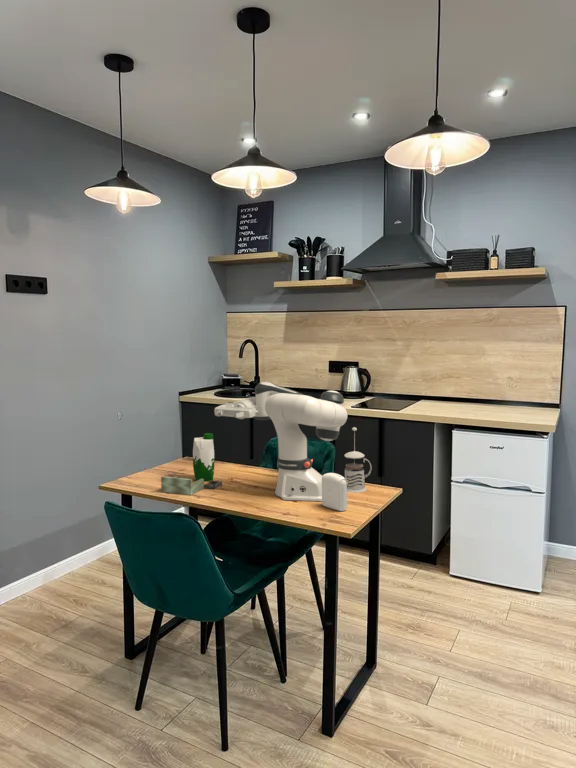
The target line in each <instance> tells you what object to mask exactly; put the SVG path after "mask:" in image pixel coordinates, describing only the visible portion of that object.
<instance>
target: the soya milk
mask: <svg viewBox="0 0 576 768" xmlns="http://www.w3.org/2000/svg"><path fill="white" fill-rule="evenodd" d="M214 448H215V446H214V434H213V432H212V433H211V432H206V433H203V437H202V436H200V437H194V438H193V447H192V467H193V474H194V475H193V476H194V480H195V482H196V481H198V480H200V479H204V483H206V482H207V483H208V482H209V481H210V480H212V481H214V475H215V449H214Z"/></svg>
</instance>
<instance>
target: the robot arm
mask: <svg viewBox="0 0 576 768" xmlns="http://www.w3.org/2000/svg"><path fill="white" fill-rule="evenodd" d="M254 392H255V396H251V397H247V398H244V399H241V400H236V401H229V402H225V403H224V404H221V405H218V406H216V407H214V410H213V411H214V416H215V417H228V418H229V417H230V418H235V419H239V420H244V419H250V418H251V419H252V418H253V419H255V420H257V421H268V420H271V421H272V423H273V426H274V429H275V432H276V435H277V436H276V437H277V444H278V445H277V446H278V457H277V465H276V466H277V473H278V474H277V482H276V483H277V484H276V487H275V491H274V494H275V496H277V497H280V499H282V500H284V501H306V502H308V501H309V502H322V477H323V474H321V473H320V472H318V471H317V470H316V469H315V468H313V467H312V466H313V460H314V459H313V458H312V459H310V458H309V457H308V439H307V436H306V434H305V433H303V431H302V430H301V428H300V426H299V425H304V426H310V427H316V428H315V434H316V436H317V438H319V439H320V440H323V441H326V442H330V441H334V440H337V439H338V438H339V435H340V429H341V427H342V426H344V425H345V424H346V422H347V420H348V412H347V409H346V408H345V407H344V403H345V401H344V396H343V394H342V393H340V392H338V391H336V390H331V389H330V390H326V391H323V392H322V393H321V395H320V397H319V398H316V397H313V396H311V395H307V394H306V395H305V394H303V393H301V392H299V391H296V390H293V389H290V388H286V387H283V386H281V385H277V384H275V383H272V382H269V381H260V382H258V384H256V386H255V388H254Z"/></svg>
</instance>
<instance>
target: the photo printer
mask: <svg viewBox="0 0 576 768" xmlns="http://www.w3.org/2000/svg"><path fill="white" fill-rule="evenodd" d="M322 476H323V477H322V501H321V505H322V506H324V507H326V508H329V509H332V510H335V511H340V512H344V511H347V509H348V492H347V484H348V482H347V481H348V480H347V481H346V479H345V476H343V475H341V474H339V473H335V472H327V473H324V474H322Z"/></svg>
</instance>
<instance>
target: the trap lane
mask: <svg viewBox="0 0 576 768" xmlns="http://www.w3.org/2000/svg"><path fill="white" fill-rule="evenodd" d="M160 481H161V483H160V488H161V493H166V492H169V493H168V494H176V493H181V494H180V495H185V494H187V495H188V496H192V495H194V494H196V493H198V492H200V491H202V490H203V489H206V490H216V489H218V488H220V487H222V486H223V481H221V480H220V481H219V480H213V481H212V480H210V481H209V482H207V483H206V482H204V479H200V480H198V481H196V480H195V481H194V482H193V479H191V478H187V477H178V475H177V476H176V475H174V476H172V477H171V476H161V477H160ZM221 485H222V486H221ZM219 486H220V487H219ZM187 495H186V496H187Z"/></svg>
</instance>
